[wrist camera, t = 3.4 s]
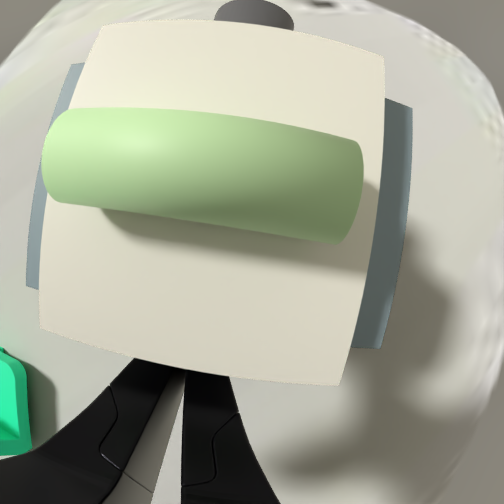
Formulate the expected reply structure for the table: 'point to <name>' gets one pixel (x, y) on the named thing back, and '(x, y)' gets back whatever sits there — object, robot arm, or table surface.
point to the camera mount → (13, 407)
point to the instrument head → (223, 197)
